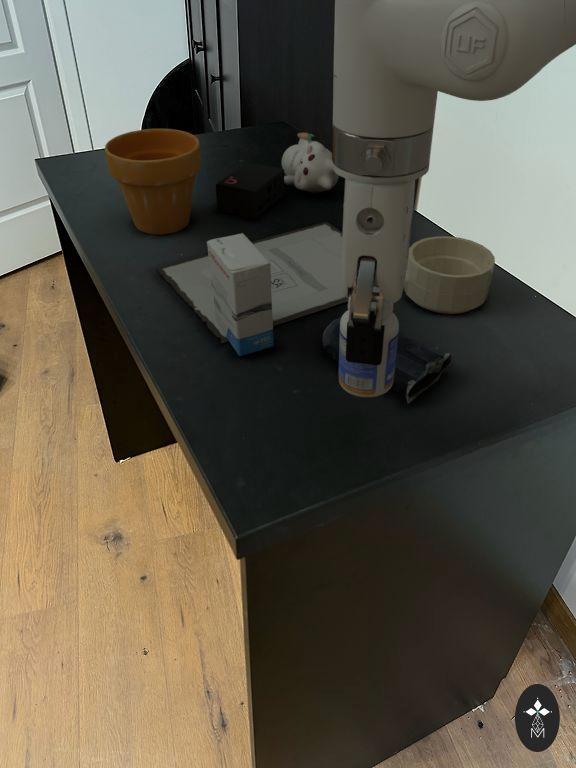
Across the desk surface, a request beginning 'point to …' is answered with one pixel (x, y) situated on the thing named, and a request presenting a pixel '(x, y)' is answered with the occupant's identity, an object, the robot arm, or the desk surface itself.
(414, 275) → the basin
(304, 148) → the cat figurine
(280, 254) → the picture frame
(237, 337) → the ink box
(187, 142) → the flower pot
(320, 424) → the desk surface
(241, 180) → the electronic device
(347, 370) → the pill bottle
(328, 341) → the black pouch
